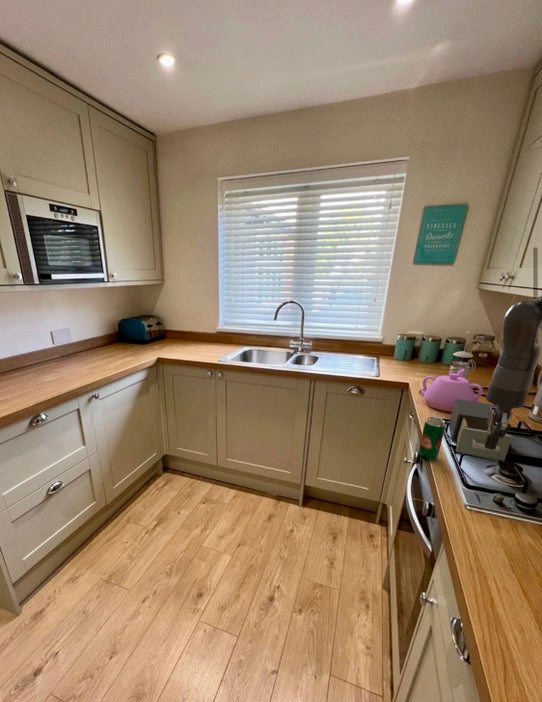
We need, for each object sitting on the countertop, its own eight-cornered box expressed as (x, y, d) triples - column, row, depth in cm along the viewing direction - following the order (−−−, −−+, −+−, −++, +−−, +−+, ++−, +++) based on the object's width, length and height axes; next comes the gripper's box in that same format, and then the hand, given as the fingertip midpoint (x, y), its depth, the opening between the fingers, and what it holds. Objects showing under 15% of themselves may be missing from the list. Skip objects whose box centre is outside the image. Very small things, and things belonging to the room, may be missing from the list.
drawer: (507, 469, 89) (515, 443, 86) (457, 458, 94) (463, 434, 92) (496, 441, 104) (503, 419, 101) (453, 433, 109) (458, 412, 106)
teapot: (485, 404, 135) (495, 372, 130) (474, 420, 120) (484, 384, 115) (426, 392, 149) (432, 362, 144) (410, 405, 135) (416, 372, 130)
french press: (454, 378, 169) (467, 328, 160) (476, 385, 158) (491, 332, 149) (440, 380, 166) (451, 330, 157) (461, 387, 155) (475, 334, 147)
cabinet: (499, 450, 100) (509, 421, 97) (451, 441, 106) (458, 413, 103) (492, 431, 112) (500, 405, 109) (448, 424, 118) (455, 399, 115)
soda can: (413, 453, 99) (421, 416, 95) (429, 452, 100) (438, 415, 96) (424, 461, 95) (433, 424, 90) (441, 460, 95) (451, 423, 91)
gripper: (537, 395, 73) (513, 463, 79) (522, 379, 84) (502, 440, 90) (495, 390, 76) (475, 455, 82) (486, 375, 87) (469, 434, 93)
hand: (489, 447), depth 86 cm, fingers closed
